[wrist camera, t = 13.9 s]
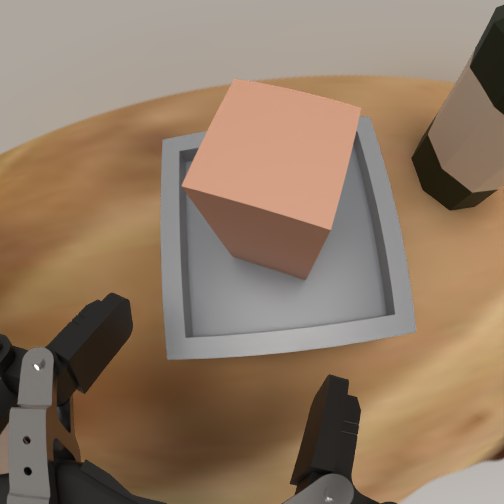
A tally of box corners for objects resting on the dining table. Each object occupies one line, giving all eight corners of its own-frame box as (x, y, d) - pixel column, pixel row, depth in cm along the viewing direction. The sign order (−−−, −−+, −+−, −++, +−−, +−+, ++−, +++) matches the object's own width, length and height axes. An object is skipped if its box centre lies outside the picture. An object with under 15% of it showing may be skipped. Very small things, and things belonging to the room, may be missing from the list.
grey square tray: (198, 350, 23) (167, 359, 16) (189, 182, 26) (162, 139, 20) (380, 330, 22) (416, 331, 15) (351, 163, 25) (369, 116, 19)
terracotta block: (305, 280, 18) (330, 230, 9) (232, 256, 19) (181, 186, 9) (327, 209, 19) (361, 108, 9) (257, 188, 20) (234, 78, 10)
